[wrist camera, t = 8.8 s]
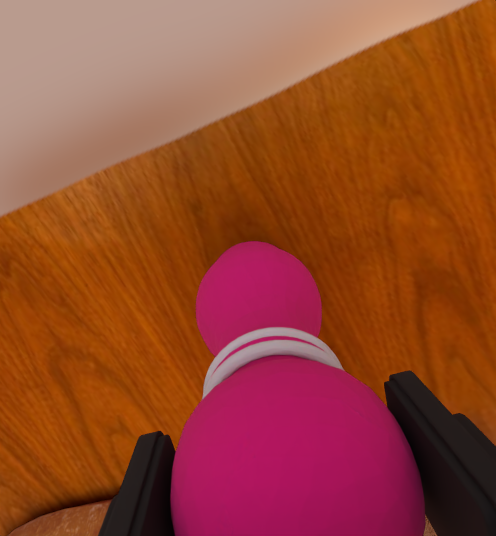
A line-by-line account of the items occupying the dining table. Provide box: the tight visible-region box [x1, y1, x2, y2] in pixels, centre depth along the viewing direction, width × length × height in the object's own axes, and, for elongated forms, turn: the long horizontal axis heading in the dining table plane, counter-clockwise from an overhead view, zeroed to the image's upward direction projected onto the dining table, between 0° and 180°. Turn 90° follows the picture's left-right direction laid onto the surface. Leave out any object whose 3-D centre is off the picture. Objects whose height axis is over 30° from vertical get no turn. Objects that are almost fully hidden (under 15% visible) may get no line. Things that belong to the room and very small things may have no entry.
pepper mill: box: [170, 241, 425, 536], centre depth 14 cm, size 7×7×20 cm
